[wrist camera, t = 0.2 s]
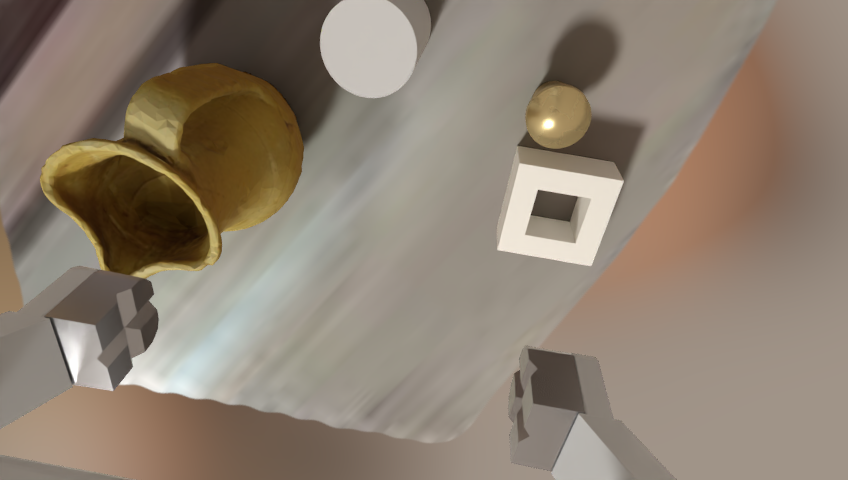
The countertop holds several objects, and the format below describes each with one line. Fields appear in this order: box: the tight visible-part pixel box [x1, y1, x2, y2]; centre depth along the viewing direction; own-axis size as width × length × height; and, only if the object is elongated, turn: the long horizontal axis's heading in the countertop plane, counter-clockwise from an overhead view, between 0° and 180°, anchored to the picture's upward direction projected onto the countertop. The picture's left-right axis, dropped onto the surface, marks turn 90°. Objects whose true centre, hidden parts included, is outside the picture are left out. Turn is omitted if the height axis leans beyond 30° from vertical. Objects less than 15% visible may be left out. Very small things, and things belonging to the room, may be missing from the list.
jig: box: [497, 146, 624, 266], centre depth 58 cm, size 11×11×5 cm
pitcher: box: [40, 63, 304, 279], centre depth 49 cm, size 17×19×25 cm
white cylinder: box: [320, 0, 431, 98], centre depth 47 cm, size 8×8×12 cm
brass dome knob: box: [525, 81, 591, 149], centre depth 52 cm, size 6×6×6 cm
